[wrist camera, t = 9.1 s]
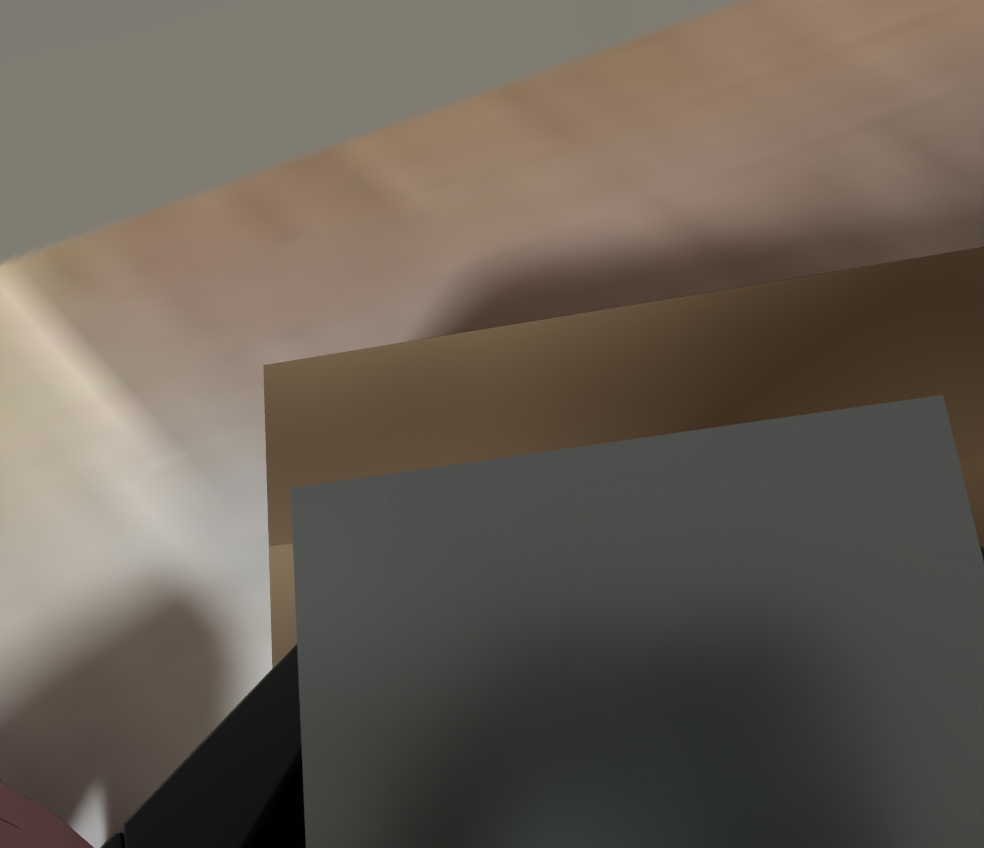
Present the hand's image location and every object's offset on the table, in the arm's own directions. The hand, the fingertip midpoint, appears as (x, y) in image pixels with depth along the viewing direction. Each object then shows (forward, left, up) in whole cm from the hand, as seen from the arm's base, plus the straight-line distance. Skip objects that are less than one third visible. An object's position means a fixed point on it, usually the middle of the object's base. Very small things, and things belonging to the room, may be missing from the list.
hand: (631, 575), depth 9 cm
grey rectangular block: (-1, 0, -8) cm, 8 cm away
